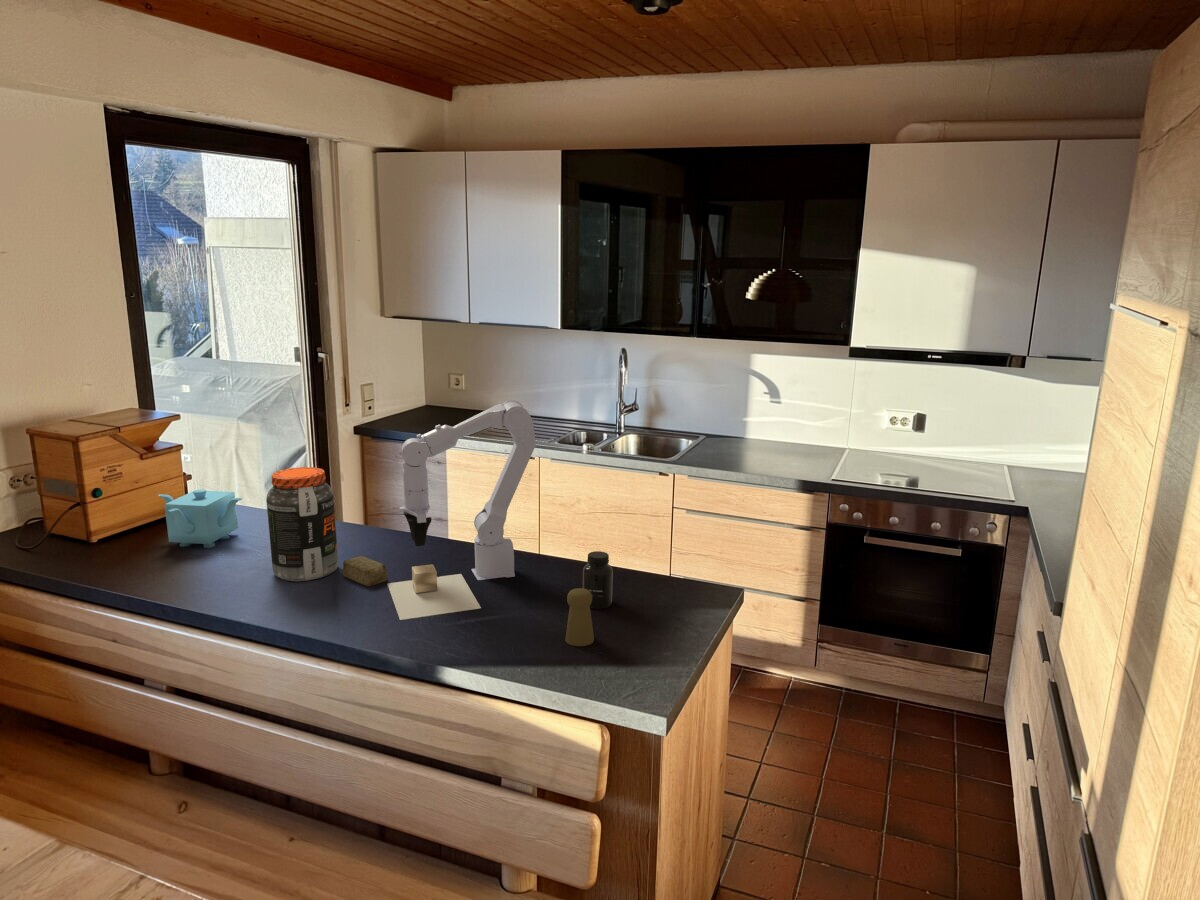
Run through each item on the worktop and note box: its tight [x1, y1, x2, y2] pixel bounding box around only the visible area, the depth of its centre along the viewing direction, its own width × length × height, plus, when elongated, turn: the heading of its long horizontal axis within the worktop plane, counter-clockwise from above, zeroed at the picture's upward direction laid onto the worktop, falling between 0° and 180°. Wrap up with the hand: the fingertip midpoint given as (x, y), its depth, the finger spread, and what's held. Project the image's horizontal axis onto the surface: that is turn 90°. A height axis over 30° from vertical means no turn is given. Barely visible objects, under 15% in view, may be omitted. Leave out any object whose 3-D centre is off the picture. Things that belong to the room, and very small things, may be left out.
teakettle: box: [158, 488, 244, 549], centre depth 232 cm, size 19×19×15 cm
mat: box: [387, 573, 482, 621], centre depth 197 cm, size 18×22×1 cm
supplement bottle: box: [582, 550, 614, 610], centre depth 193 cm, size 7×7×12 cm
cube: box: [411, 564, 438, 594], centre depth 200 cm, size 5×5×5 cm
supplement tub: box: [265, 466, 339, 582], centre depth 209 cm, size 16×16×26 cm
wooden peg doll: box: [565, 587, 595, 647], centre depth 175 cm, size 6×6×11 cm
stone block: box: [342, 555, 388, 587], centre depth 207 cm, size 6×12×5 cm, turn 51°
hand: (418, 542), depth 205 cm, fingers open, 4 cm apart
